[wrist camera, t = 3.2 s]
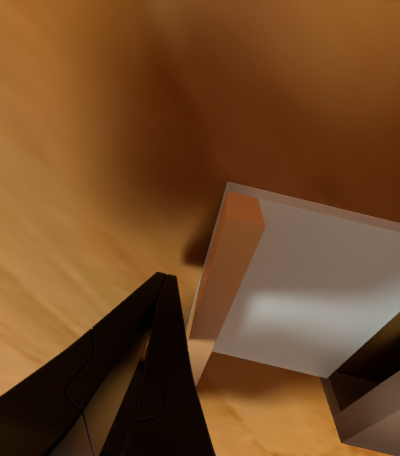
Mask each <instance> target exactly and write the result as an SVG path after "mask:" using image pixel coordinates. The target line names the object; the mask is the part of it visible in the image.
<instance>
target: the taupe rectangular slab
mask: <svg viewBox="0 0 400 456" xmlns="http://www.w3.org/2000/svg"><path fill="white" fill-rule="evenodd" d="M320 379H321V383H322V386H323V389H324V392H325V395H326V398H327V401H328V404H329V407H330V410H331V413H332V416H333V419H334V422H335V426H336V429H337V432H338V435H339V438H340V441H341V443H344V444H348V445H352V446H356V447H360V448H365V449H369V450H373V451H377V452H382V453H386V454H390V455H394V456H400V370H399V371H398V372H396V373H395V374H394V375H392V376H391V377H389V378H388V379H387V380H385V381H384V382H382V383H379V382H375V381H370V380H366V379H362V378H358V377H354V376H349V375H345V374H341V373H337V372H333V373H332V374H331V375H330V376H329V377H328V378H322V377H320Z"/></svg>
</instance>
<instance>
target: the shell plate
mask: <svg viewBox="0 0 400 456" xmlns="http://www.w3.org/2000/svg"><path fill="white" fill-rule="evenodd" d="M399 312H400V223H399V222H394V221H390V220H386V219H382V218H378V217H374V216H370V215H365V214H361V213H357V212H353V211H349V210H345V209H340V208H336V207H332V206H328V205H324V204H320V203H316V202H311V201H307V200H303V199H299V198H295V197H291V196H287V195H282V194H278V193H274V192H270V191H266V190H262V189H258V188H253V187H249V186H245V185H241V184H237V183H233V182H229V181H228V182H227V185H226V189H225V192H224V196H223V199H222V203H221V206H220V210H219V213H218V217H217V220H216V224H215V227H214V231H213V234H212V238H211V241H210V245H209V248H208V252H207V255H206V259H205V263H204V266H203V270H202V273H201V277H200V280H199V284H198V287H197V291H196V294H195V298H194V301H193V305H192V308H191V312H190V315H189V319H188V322H187V326H186V330H185V332H186V338H187V344H188V351H189V356H190V362H191V367H192V372H193V378H194V381H195V385H196V386H197V384H198V382H199V379H200V377H201V375H202V372H203V370H204V368H205V366H206V363H207V361H208V359H209V356H210V354H211V352H217V353H221V354H225V355H229V356H234V357H238V358H242V359H246V360H251V361H255V362H259V363H263V364H267V365H272V366H276V367H280V368H284V369H289V370H293V371H297V372H301V373H305V374H310V375H314V376H318V377H322V378H328V377H329V376H330V375H331V374H332V373H333V372H334V371H335V370H336V369H337V368H339V367H340V366H341V365H342V364H343V363H344V362H345V361H346V360H347V359H348V358H350V357H351V356H352V355H353V354H354V353H355V352H356V351H357V350H358V349H359V348H361V347H362V346H363V345H364V344H365V343H366V342H367V341H368V340H369V339H370V338H371V337H373V336H374V335H375V334H376V333H377V332H378V331H379V330H380V329H381V328H382V327H384V326H385V325H386V324H387V323H388V322H389V321H390V320H391V319H392V318H393V317H395V316H396V315H397V314H398V313H399Z"/></svg>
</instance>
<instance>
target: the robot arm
mask: <svg viewBox="0 0 400 456" xmlns="http://www.w3.org/2000/svg"><path fill="white" fill-rule="evenodd" d="M92 329H93V330H92ZM92 329H90V330H88V331H87V332H86V333H85V334H84V335H83V336H82V337H80V338H79V339H78V340H77V341H75V342H74V343H73V344H72V345H70V346H69V347H68V348H67V349H65V350H64V351H63V352H61V353H60V354H59V355H57V356H56V357H55V358H53V359H52V360H51V361H49V362H48V363H46V364H45V365H44V366H42V367H41V368H39V369H38V370H37V371H35V372H34V373H32V374H31V375H30V376H28V377H27V378H25V379H24V380H23V381H21V382H20V383H18V384H17V385H16V386H14V387H13V388H11V389H10V390H9V391H7V392H6V393H4V394H3V395H1V396H0V456H216V455H215V452H214V449H213V445H212V442H211V439H210V435H209V432H208V428H207V425H206V421H205V418H204V414H203V411H202V407H201V404H200V401H199V397H198V393H197V389H196V385H195V381H194V378H193V372H192V367H191V362H190V356H189V351H188V344H187V338H186V332H185V326H184V319H183V313H182V307H181V301H180V295H179V288H178V282H177V277H176V276H175V275H170V274H167V275H166V274H165V273H161V272H156V273H155V274H154V275H153V276H152V277H151V278H149V279H148V280H147V281H146V282H145V283H144V284H142V285H141V286H140V287H139V288H138V289H137V290H135V291H134V292H133V293H132V294H131V295H129V296H128V297H127V298H126V299H125V300H124V301H122V302H121V303H120V304H119V305H118V306H117V307H115V308H114V309H113V310H112V311H111V312H110V313H108V314H107V315H106V316H105V317H104V318H103V319H101V320H100V321H99V322H98V323H97V324H96V325H94V326H93V328H92ZM148 339H149V342H148V347H147V352H146V357H145V362H144V365H140V364H138V363H139V360H140V358H141V355H142V353H143V351H144V348H145V346H146V344H147V341H148Z"/></svg>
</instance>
